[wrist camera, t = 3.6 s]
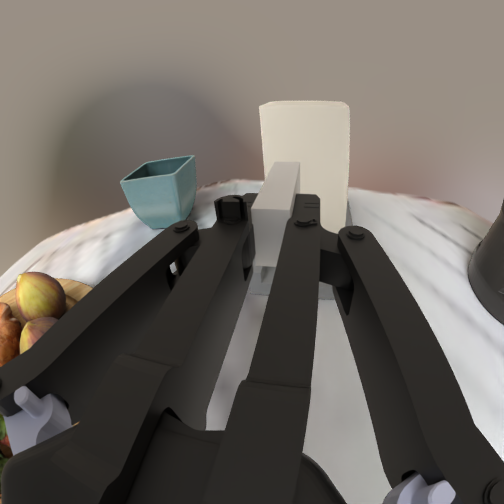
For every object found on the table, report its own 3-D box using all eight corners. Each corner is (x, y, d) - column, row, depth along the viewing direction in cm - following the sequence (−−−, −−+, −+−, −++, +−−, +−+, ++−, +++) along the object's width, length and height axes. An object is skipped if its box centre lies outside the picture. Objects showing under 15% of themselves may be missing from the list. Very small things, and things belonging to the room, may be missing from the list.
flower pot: (134, 237, 39) (117, 181, 34) (157, 210, 46) (145, 161, 41) (187, 235, 37) (174, 173, 32) (204, 207, 45) (195, 154, 40)
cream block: (338, 234, 31) (342, 101, 23) (340, 265, 26) (349, 106, 18) (279, 231, 33) (270, 101, 24) (270, 262, 28) (258, 106, 19)
